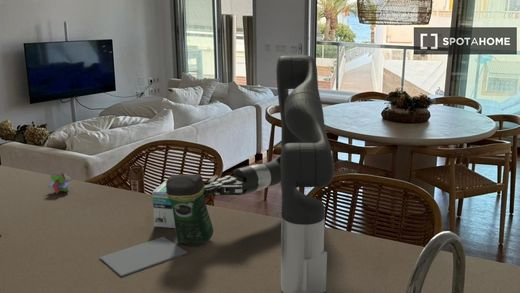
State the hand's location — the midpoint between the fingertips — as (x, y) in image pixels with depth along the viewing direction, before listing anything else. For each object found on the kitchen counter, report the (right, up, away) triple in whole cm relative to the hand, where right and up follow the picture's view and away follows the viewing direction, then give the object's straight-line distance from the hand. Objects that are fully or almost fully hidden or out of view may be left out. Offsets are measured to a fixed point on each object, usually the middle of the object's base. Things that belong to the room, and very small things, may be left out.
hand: (200, 191), depth 134 cm
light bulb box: (-10, -10, +15) cm, 21 cm away
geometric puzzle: (-53, -4, +39) cm, 66 cm away
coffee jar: (-2, -13, +2) cm, 13 cm away
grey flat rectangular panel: (-14, -16, -7) cm, 22 cm away
